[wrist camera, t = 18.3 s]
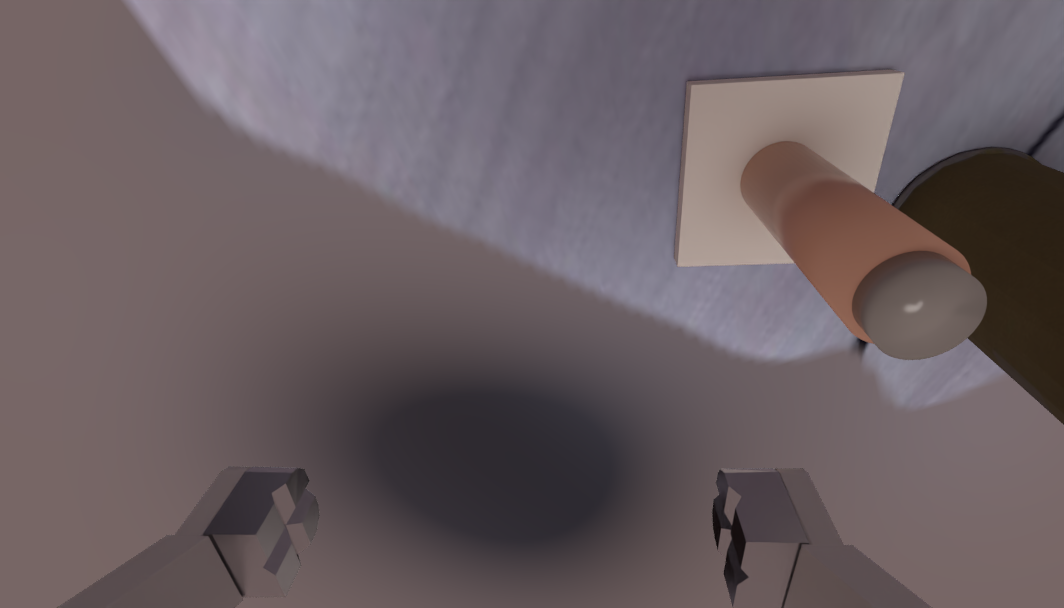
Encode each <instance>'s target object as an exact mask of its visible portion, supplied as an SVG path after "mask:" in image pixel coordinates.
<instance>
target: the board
mask: <svg viewBox="0 0 1064 608" xmlns="http://www.w3.org/2000/svg"><path fill="white" fill-rule="evenodd" d="M904 74H905V73H904V72H900V71H896V70H892V69H890V70H872V71H855V72H838V73H821V74H804V75H787V76H769V77H752V78H735V79H718V80H701V81H687V86H686V100H685V114H684V128H683V141H682V155H681V169H680V183H679V197H678V211H677V224H676V238H675V252H674V259H675V261H676V264H677V267H688V266H722V265H755V264H789V263H794V261H793V260H792V259H791V258H790V257H789V255H788V254H787V253H786V252H785V250H784V249H783V248H782V247H781V245H780V244H779V243H778V242H777V241H776V239H775V238H774V237H773V236H772V234H771V233H770V232H769V231H768V229H767V228H766V227H765V226H764V225H763V223H762V222H761V221H760V220H759V218H758V217H757V216H756V215H755V213H754V212H753V211H752V210H751V209H750V207H749V206H748V205H747V204H746V202H745V201H744V199H743V197H742V194H741V188H740V183H741V176H742V173H743V171H744V169H745V167H746V165H747V163H748V162H749V161H750V159H751V158H752V157H753V156H754V155H755V154H756V153H757V152H759V151H760V150H762V149H763V148H765V147H767V146H769V145H771V144H774V143H777V142H783V141H792V142H798V143H801V144H803V145H805V146H806V147H808V148H809V149H811V150H812V151H814V152H815V153H817V154H818V155H820V156H821V157H822V158H824V159H825V160H827V161H828V162H830V163H831V164H833V165H834V166H835V167H837V168H838V169H840V170H841V171H843V172H844V173H846V174H847V175H849V176H850V177H851V178H853V179H854V180H856V181H857V182H859V183H860V184H862V185H863V186H865V187H866V188H867V189H869V190H870V191H872V192H873V193H874V190H875V187H876V183H877V179H878V175H879V171H880V167H881V163H882V159H883V155H884V151H885V148H886V144H887V140H888V136H889V132H890V128H891V124H892V120H893V116H894V113H895V109H896V105H897V101H898V97H899V93H900V89H901V85H902V81H903V78H904Z"/></svg>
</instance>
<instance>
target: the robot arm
mask: <svg viewBox="0 0 1064 608" xmlns="http://www.w3.org/2000/svg"><path fill="white" fill-rule="evenodd" d="M308 483H309V478H308V476H307V474H306V472H305V469H301V468H281V467H235V466H229V467H227V468H226V469H224V470H222V471H221V472H220V473H219V475H218V476H217V477H216V479H215V480H214V482H213V483H212V484H211V486H210V487H209V488H208V490H207V491H206V492H205V494H204V495H203V497H202V498H201V499H200V501H199V502H198V504H197V505H196V506H195V507H194V509H193V510H192V512H191V513H190V515H189V516H188V517H187V518H186V520H185V521H184V523H183V524H182V525H181V527H180V528H179V529H178V531H177V532H176V534H175V535H166V536H165V537H164V538H162V539H160V540H159V541H158V542H156V543H154V544H153V545H151V546H150V547H148V548H147V549H145V550H144V551H142V552H141V553H139V554H138V555H136V556H135V557H133V558H131V559H130V560H128V561H127V562H125V563H124V564H122V565H121V566H119V567H118V568H116V569H115V570H113V571H112V572H110V573H109V574H107V575H106V576H104V577H103V578H101V579H100V580H98V581H96V582H95V583H93V584H92V585H90V586H89V587H87V588H86V589H84V590H83V591H82V592H80V593H78V594H77V595H75V596H74V597H72V598H71V599H69V600H68V601H66V602H65V603H63V604H62V605H60V606H58V607H57V608H235V607H236V606H237V605H239V603H241V602H242V601H243V598H242V597H286V596H287V593H288V591H289V589H290V587H291V585H292V583H293V580H294V579H295V577H296V575H297V572H298V570H299V568H300V566H301V563H300V559H299V555H298V554H299V553H301V552H302V551H303V550H304V549H306V548H307V547H308V546H309V545H311V543H312V540H313V538H314V536H315V533H316V531H317V526H318V520H319V506H318V502H317V499H316V497H315V496H314V495H313V494H312V493H311V492H309V491H308V490H307V489H305V488H306V486H307V485H308ZM716 485H717V488H718V492H719V495H718V496H717V497H716V498H715V499H714V500H713V509H712V522H713V531H714V537H715V541H716V546H717V550H718V552H719V553H720V554H721V555H723V556H724V557H725V558H726V561H725V567H724V577H725V581H726V584H727V588H728V592H729V596H730V599H731V603H732V607H733V608H932V607H931V606H929V605H928V604H927V603H926V602H924V601H923V600H922V599H921V598H919V597H918V596H917V595H915V594H914V593H913V592H912V591H910V590H909V589H908V588H907V587H905V586H904V585H903V584H901V583H900V582H899V581H898V580H896V579H895V578H894V577H893V576H891V575H890V574H889V573H887V572H886V571H885V570H884V569H882V568H881V567H880V566H879V565H877V564H876V563H875V562H873V561H872V560H871V559H870V558H868V557H867V556H866V555H864V554H863V553H862V552H861V551H859V550H858V549H857V548H856V547H854V546H853V545H844V544H843V542H842V540H841V538H840V536H839V534H838V532H837V530H836V528H835V526H834V524H833V522H832V520H831V518H830V516H829V514H828V512H827V510H826V508H825V506H824V504H823V502H822V500H821V498H820V496H819V494H818V492H817V490H816V488H815V486H814V484H813V482H812V480H811V478H810V476H809V473H808V472H807V471H805V470H804V469H803V468H800V469H796V468H793V469H773V468H762V469H761V468H760V469H759V468H758V469H757V468H755V469H720V470H719V472H718V474H717V480H716Z"/></svg>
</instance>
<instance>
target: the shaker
mask: <svg viewBox="0 0 1064 608" xmlns="http://www.w3.org/2000/svg"><path fill="white" fill-rule="evenodd" d="M740 188H741V194H742V197H743V199H744V201H745V202H746V204H747V205H748V206H749V207H750V209H751V210H752V211H753V212H754V213H755V215H756V216H757V217H758V218H759V220H760V221H761V222H762V223H763V225H764V226H765V227H766V228H767V229H768V231H769V232H770V233H771V234H772V236H773V237H774V238H775V239H776V241H777V242H778V243H779V244H780V245H781V247H782V248H783V249H784V250H785V252H786V253H787V254H788V255H789V257H790V258H791V259H792V260H793V261H794V263H795V264H796V265H797V266H798V268H799V269H800V270H801V271H802V273H803V274H804V275H805V276H806V277H807V279H808V280H809V281H810V282H811V284H812V285H813V286H814V287H815V289H816V290H817V291H818V292H819V293H820V295H821V296H822V297H823V298H824V300H825V301H826V302H827V303H828V305H829V306H830V307H831V308H832V309H833V311H834V312H835V313H836V314H837V316H838V317H839V318H840V319H841V321H842V322H843V323H844V324H845V325H846V327H847V328H848V329H849V330H850V331H851V333H853V334H854V335H855V336H856V337H858V338H860V339H861V340H864V341H866V342H869V343H873V344H875V345H876V346H877V347H878V348H879V349H880V350H881V351H882V352H883V353H885V354H887V355H889V356H891V357H894V358H898V359H904V360H919V359H925V358H930V357H934V356H937V355H939V354H942V353H944V352H946V351H949V350H950V349H952V348H954V347H956V346H957V345H959V344H960V343H962V342H963V341H964V340H965V339H967V338H968V337H969V336H970V335H971V334H972V333H973V332H974V330H975V329H976V328H977V327H978V325H979V324H980V322H981V321H982V319H983V316H984V314H985V311H986V306H987V296H986V292H985V289H984V287H983V286H982V284H981V283H980V282H979V281H978V280H977V279H976V278H975V277H973V276H972V275H971V271H970V267H969V264H968V262H967V260H966V259H965V257H964V256H963V255H962V254H961V253H960V252H959V251H957V250H956V249H955V248H953V247H952V246H950V245H949V244H947V243H946V242H944V241H943V240H941V239H940V238H939V237H937V236H936V235H934V234H933V233H931V232H930V231H928V230H927V229H926V228H924V227H923V226H921V225H920V224H918V223H917V222H915V221H914V220H912V219H911V218H910V217H908V216H907V215H905V214H904V213H902V212H901V211H899V210H898V209H896V208H895V207H894V206H892V205H891V204H889V203H888V202H886V201H885V200H883V199H882V198H881V197H879V196H878V195H876V194H875V193H873V192H872V191H870V190H869V189H867V188H866V187H865V186H863V185H862V184H860V183H859V182H857V181H856V180H854V179H853V178H851V177H850V176H849V175H847V174H846V173H844V172H843V171H841V170H840V169H838V168H837V167H835V166H834V165H833V164H831V163H830V162H828V161H827V160H825V159H824V158H822V157H821V156H820V155H818V154H817V153H815V152H814V151H812V150H811V149H809V148H808V147H806V146H805V145H803V144H801V143H798V142H792V141H783V142H777V143H774V144H771V145H769V146H767V147H765V148H763V149H762V150H760V151H759V152H757V153H756V154H755V155H754V156H753V157H752V158H751V159H750V161H749V162H748V163H747V165H746V167H745V169H744V171H743V173H742V176H741V183H740Z"/></svg>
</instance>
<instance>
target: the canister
mask: <svg viewBox="0 0 1064 608" xmlns="http://www.w3.org/2000/svg"><path fill="white" fill-rule="evenodd" d="M893 206H894V207H895V208H896V209H898V210H899V211H901V212H902V213H904V214H905V215H907V216H908V217H910V218H911V219H912V220H914V221H915V222H917V223H918V224H920V225H921V226H923V227H924V228H926V229H927V230H928V231H930V232H931V233H933V234H934V235H936V236H937V237H939V238H940V239H941V240H943V241H944V242H946V243H947V244H949V245H950V246H952V247H953V248H955V249H956V250H957V251H959V252H960V253H961V254H962V255H963V256H964V257H965V259H966V260H967V262H968V264H969V267H970V271H971V275H972V276H973V277H975V278H976V279H977V280H978V281H979V282H980V283H981V284H982V286H983V287H984V289H985V292H986V296H987V306H986V311H985V314H984V316H983V319H982V321H981V322H980V324H979V325H978V327H977V328H976V329H975V330H974V332H973V333H972V334H971V335H970V336H969V337H968V339H969V340H970V341H971V342H972V343H974V344H975V345H976V346H977V347H978V348H979V349H980V350H981V351H982V352H984V353H985V354H986V355H987V356H988V357H989V358H990V359H991V360H992V361H994V362H995V363H996V364H997V365H998V366H999V367H1000V368H1001V369H1003V370H1004V371H1005V372H1006V373H1007V374H1008V375H1009V376H1010V377H1011V378H1013V379H1014V380H1015V381H1016V382H1017V383H1018V384H1019V385H1020V386H1022V387H1023V388H1024V389H1025V390H1026V391H1027V392H1028V393H1029V394H1030V395H1031V396H1033V397H1034V398H1035V399H1036V400H1037V401H1038V402H1039V403H1040V404H1041V405H1043V406H1044V407H1045V408H1046V409H1047V410H1048V411H1049V412H1050V413H1051V414H1053V415H1054V416H1055V417H1056V418H1057V419H1058V420H1059V421H1060V422H1061V423H1063V424H1064V173H1063V172H1060V171H1057V170H1055V169H1052V168H1049V167H1047V166H1044V165H1042V164H1041V163H1039V162H1038V161H1037V160H1035V159H1034V158H1033V157H1031V156H1029V155H1027V154H1025V153H1023V152H1020V151H1016V150H1012V149H1009V148H994V147H989V148H984V149H978V150H973V151H968V152H963V153H959V154H957V155H955V156H953V157H951V158H949V159H946V160H944V161H942V162H940V163H938V164H936V165H935V166H933V167H931V168H930V169H928V170H927V171H925V172H924V173H922V174H921V175H919V176H918V177H917V178H916V179H915V180H914V181H913V182H912V183H911V184H910V185H909V186H908V187H907V188H906V189H905V190H904V191H903V192H902V193H901V195H900V196H899V198H898V199H897V200H896V202H895V203H894V205H893Z"/></svg>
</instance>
